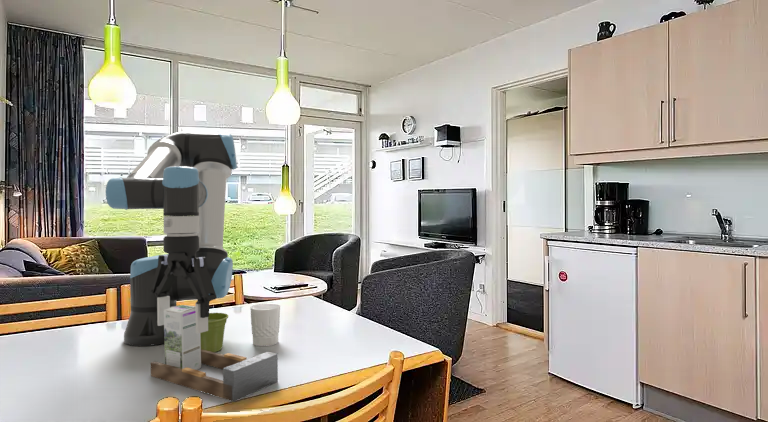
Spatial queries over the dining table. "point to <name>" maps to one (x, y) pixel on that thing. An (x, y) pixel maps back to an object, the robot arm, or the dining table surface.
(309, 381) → the dining table surface
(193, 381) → the brown parallel rails
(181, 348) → the syrup box
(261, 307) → the white cup
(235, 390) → the connector block
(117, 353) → the dining table surface
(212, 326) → the plant pot
